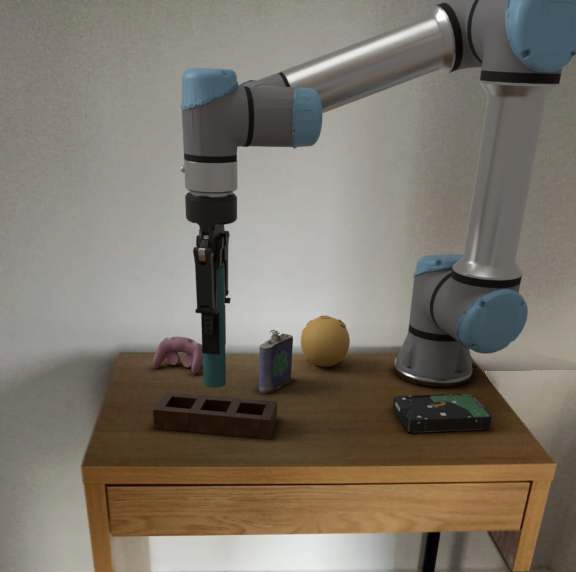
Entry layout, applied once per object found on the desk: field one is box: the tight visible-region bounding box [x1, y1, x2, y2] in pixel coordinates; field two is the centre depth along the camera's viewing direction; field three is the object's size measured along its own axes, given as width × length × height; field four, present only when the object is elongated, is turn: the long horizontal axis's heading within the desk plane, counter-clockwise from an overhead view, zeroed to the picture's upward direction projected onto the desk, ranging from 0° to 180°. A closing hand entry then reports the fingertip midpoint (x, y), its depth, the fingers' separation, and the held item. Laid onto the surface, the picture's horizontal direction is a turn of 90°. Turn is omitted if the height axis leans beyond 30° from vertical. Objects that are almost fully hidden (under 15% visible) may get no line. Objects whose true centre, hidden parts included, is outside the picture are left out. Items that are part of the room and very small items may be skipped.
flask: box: [258, 329, 294, 395], centre depth 140 cm, size 9×3×11 cm, turn 146°
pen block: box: [152, 391, 278, 440], centre depth 127 cm, size 20×8×4 cm, turn 82°
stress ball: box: [300, 315, 351, 368], centre depth 150 cm, size 10×10×10 cm
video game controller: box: [152, 336, 203, 375], centre depth 148 cm, size 10×5×7 cm, turn 72°
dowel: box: [202, 265, 227, 389], centre depth 119 cm, size 4×4×19 cm
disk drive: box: [392, 393, 493, 433], centre depth 131 cm, size 10×3×15 cm
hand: (214, 348), depth 120 cm, fingers closed on dowel, 4 cm apart
